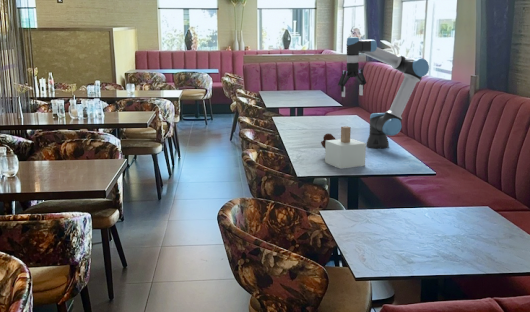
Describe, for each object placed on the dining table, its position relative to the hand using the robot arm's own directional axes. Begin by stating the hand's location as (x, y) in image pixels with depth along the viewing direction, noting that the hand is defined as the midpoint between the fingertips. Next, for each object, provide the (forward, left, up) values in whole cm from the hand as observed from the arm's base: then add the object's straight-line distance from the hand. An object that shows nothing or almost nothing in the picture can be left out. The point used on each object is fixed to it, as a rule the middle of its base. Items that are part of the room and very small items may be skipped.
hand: (352, 96), depth 347 cm
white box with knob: (+19, +24, -37) cm, 48 cm away
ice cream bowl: (+17, +3, -37) cm, 41 cm away
